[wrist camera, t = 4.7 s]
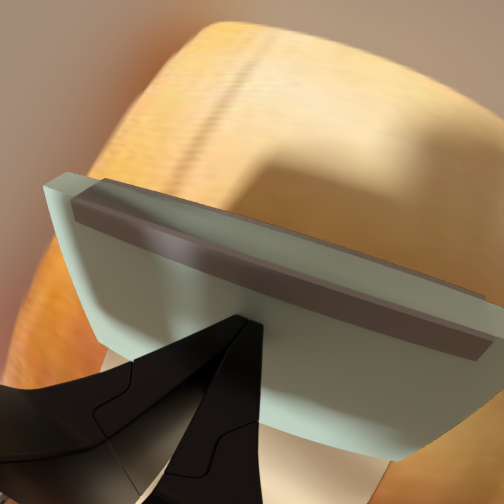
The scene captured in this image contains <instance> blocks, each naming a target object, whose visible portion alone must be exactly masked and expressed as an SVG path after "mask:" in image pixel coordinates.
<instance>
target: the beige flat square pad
mask: <svg viewBox="0 0 504 504" xmlns="http://www.w3.org/2000/svg"><path fill="white" fill-rule="evenodd" d="M126 362H129V360H128V359H126V358H124V357H123V356H121V355H119V354H118V353H116V352H114V351H113V350H111V349H110V348H108V350H107V353H106V356H105V359H104V361H103V364H102V367H101V370H100V372H103V371H106V370H108V369H111V368H114V367H116V366H119V365H121V364H124V363H126ZM258 455H259V470H260V480H261V489H262V498H263V504H367V503H368V501H369V500H370V498H371V496H372V494H373V493H374V491H375V489H376V487H377V485H378V484H379V482H380V480H381V478H382V476H383V474H384V472H385V471H386V469H387V467H388V465H389V463H390V461H391V460H386V459H381V458H376V457H371V456H367V455H363V454H359V453H354V452H350V451H346V450H343V449H339V448H335V447H332V446H328V445H325V444H321V443H318V442H314V441H311V440H308V439H305V438H302V437H299V436H296V435H292V434H290V433H287V432H284V431H281V430H278V429H275V428H272V427H270V426H267V425H264V424H262V423H259V445H258ZM169 461H170V460H169ZM168 463H169V462H168ZM168 463H167V464H166V466H165V467H164V468H163V469H162V471H161V472H160V473H159V475H158V476H157V477H156V478H155V480H154V481H153V482H152V483H151V485H150V486H149V487H148V488H147V490H146V491H145V492H144V493H143V495H142V496H140V499H139V500H138V501H137V502H136V503H135V504H141V503H142V502H143V501H144V500H145V499H146V498H147V497H148V496H149V495H150V493H151V492H152V491H153V489H154V488H155V486H156V485H157V483H158V481H159V480H160V478H161V476H162V475H163V474H164V470H165V469H166V467H167V465H168Z"/></svg>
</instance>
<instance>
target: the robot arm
mask: <svg viewBox="0 0 504 504" xmlns="http://www.w3.org/2000/svg"><path fill="white" fill-rule="evenodd" d="M263 337H264V325H263V324H262V323H259V322H256V321H254V320H250V321H249V319H248V318H246V317H243V316H240V315H238V314H234V315H232V316H230V317H228V318H226V319H224V320H221V321H219V322H217V323H215V324H213V325H211V326H208V327H206V328H204V329H202V330H200V331H197V332H195V333H193V334H191V335H189V336H186V337H184V338H182V339H180V340H177V341H175V342H173V343H171V344H168V345H166V346H164V347H162V348H159V349H157V350H155V351H152V352H150V353H148V354H145V355H143V356H141V357H138V358H136V359H134V360H133V361H129V362H126V363H124V364H121V365H119V366H116V367H114V368H111V369H108V370H106V371H103V372H100V373H97V374H93V375H90V376H87V377H83V378H80V379H76V380H72V381H68V382H65V383H61V384H57V385H53V386H49V387H44V388H39V389H17V388H12V387H8V386H4V385H0V504H135V503H136V502H137V501H138V500H139V499H140V496H142V495H143V493H144V492H145V491H146V490H147V488H148V487H149V486H150V485H151V483H152V482H153V481H154V480H155V478H156V477H157V476H158V475H159V473H160V472H161V471H162V469H163V468H164V467H165V466H166V464H167V463H168V462H169V463H168V465H167V467H166V469H165V470H164V474H163V475H162V476H161V478H160V480H159V481H158V483H157V485H156V486H155V488H154V489H153V491H152V492H151V493H150V495H149V496H148V497H147V498H146V499H145V500H144V501H143V502H142V503H141V504H263V498H262V489H261V480H260V470H259V455H258V445H259V418H260V399H261V380H262V359H263ZM169 460H170V461H169Z"/></svg>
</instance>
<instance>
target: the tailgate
mask: <svg viewBox="0 0 504 504" xmlns="http://www.w3.org/2000/svg"><path fill="white" fill-rule="evenodd" d="M43 188H44V192H45V196H46V200H47V204H48V208H49V212H50V215H51V219H52V222H53V226H54V229H55V232H56V236H57V239H58V242H59V245H60V248H61V251H62V254H63V257H64V260H65V263H66V266H67V268H68V271H69V274H70V276H71V279H72V282H73V284H74V287H75V289H76V292H77V294H78V297H79V299H80V302H81V304H82V307H83V309H84V311H85V314H86V316H87V318H88V320H89V323H90V325H91V327H92V329H93V331H94V334H95V336H96V338H97V340H98V342H100V343H102V344H103V345H105V346H106V347H108V348H110V349H111V350H113V351H114V352H116V353H118V354H119V355H121V356H123V357H124V358H126V359H128V360H129V361H133V360H134V359H136V358H138V357H141V356H143V355H145V354H148V353H150V352H152V351H155V350H157V349H159V348H162V347H164V346H166V345H168V344H171V343H173V342H175V341H177V340H180V339H182V338H184V337H186V336H189V335H191V334H193V333H195V332H197V331H200V330H202V329H204V328H206V327H208V326H211V325H213V324H215V323H217V322H219V321H221V320H224V319H226V318H228V317H230V316H232V315H234V314H238V315H240V316H243V317H246V318H248V319H249V321H250V320H254V321H256V322H259V323H262V324H263V325H264V337H263V359H262V380H261V399H260V418H259V423H262V424H264V425H267V426H270V427H272V428H275V429H278V430H281V431H284V432H287V433H290V434H292V435H296V436H299V437H302V438H305V439H308V440H311V441H314V442H318V443H321V444H325V445H328V446H332V447H335V448H339V449H343V450H346V451H350V452H354V453H359V454H363V455H367V456H371V457H376V458H381V459H386V460H391V461H396V462H399V461H400V460H402V459H404V458H406V457H408V456H409V455H411V454H413V453H415V452H416V451H418V450H420V449H421V448H423V447H425V446H426V445H428V444H429V443H431V442H433V441H434V440H436V439H437V438H439V437H440V436H442V435H443V434H445V433H446V432H448V431H449V430H451V429H452V428H454V427H455V426H456V425H458V424H459V423H461V422H462V421H463V420H465V419H466V418H467V417H469V416H470V415H471V414H473V413H474V412H475V411H477V410H478V409H479V408H480V407H482V406H483V405H484V404H485V403H487V402H488V401H489V400H490V399H491V398H493V397H494V396H495V395H496V394H497V393H499V392H500V391H501V390H502V389H503V388H504V308H503V307H500V306H498V305H495V304H492V303H490V302H487V301H486V300H485V296H483V295H480V294H478V293H475V292H472V291H470V290H467V289H464V288H461V287H459V286H456V285H453V284H450V283H447V282H445V281H442V280H439V279H436V278H433V277H431V276H428V275H425V274H422V273H419V272H416V271H413V270H410V269H408V268H405V267H402V266H399V265H396V264H393V263H390V262H387V261H384V260H381V259H378V258H375V257H372V256H369V255H366V254H363V253H360V252H357V251H354V250H351V249H348V248H345V247H341V246H338V245H335V244H332V243H329V242H326V241H323V240H320V239H316V238H313V237H310V236H307V235H304V234H300V233H297V232H294V231H291V230H287V229H284V228H281V227H278V226H274V225H271V224H268V223H264V222H261V221H258V220H254V219H251V218H248V217H244V216H241V215H238V214H234V213H231V212H227V211H224V210H220V209H217V208H213V207H210V206H206V205H203V204H199V203H196V202H192V201H189V200H185V199H182V198H178V197H174V196H171V195H167V194H163V193H160V192H156V191H152V190H149V189H145V188H141V187H137V186H134V185H130V184H126V183H122V182H118V181H115V180H111V179H107V178H104V179H102V180H97V179H93V178H90V177H86V176H82V175H77V174H74V173H70V172H66V173H64V174H62V175H61V176H59V177H57V178H55V179H54V180H52V181H50V182H49V183H47V184H45V185H44V186H43Z"/></svg>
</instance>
